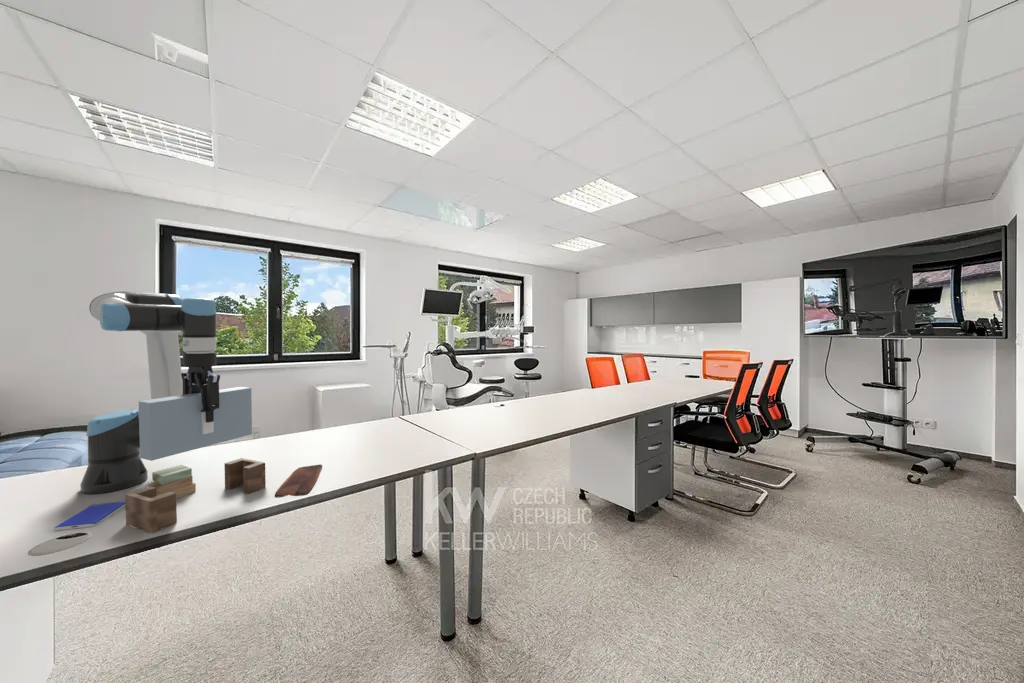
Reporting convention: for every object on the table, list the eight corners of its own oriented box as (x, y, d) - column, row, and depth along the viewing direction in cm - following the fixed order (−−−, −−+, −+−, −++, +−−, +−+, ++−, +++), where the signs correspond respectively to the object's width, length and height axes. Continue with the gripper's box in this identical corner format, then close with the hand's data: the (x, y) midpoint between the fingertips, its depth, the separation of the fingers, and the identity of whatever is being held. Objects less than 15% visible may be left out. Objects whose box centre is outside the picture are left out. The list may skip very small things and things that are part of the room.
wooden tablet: (297, 464, 141) (326, 458, 144) (297, 469, 142) (327, 464, 144) (271, 495, 116) (307, 488, 118) (272, 502, 116) (308, 495, 119)
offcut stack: (145, 499, 114) (144, 474, 114) (181, 487, 123) (180, 464, 122) (160, 503, 111) (160, 478, 111) (196, 491, 120) (195, 467, 120)
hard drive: (90, 504, 108) (53, 526, 97) (127, 500, 111) (94, 522, 99) (91, 509, 108) (53, 532, 97) (127, 506, 111) (94, 528, 99)
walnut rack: (126, 524, 100) (125, 494, 99) (242, 481, 128) (241, 458, 127) (151, 533, 96) (150, 501, 95) (265, 487, 124) (265, 462, 123)
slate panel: (140, 458, 100) (138, 401, 99) (241, 432, 124) (240, 386, 123) (151, 460, 98) (149, 403, 97) (251, 434, 122) (251, 387, 122)
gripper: (165, 351, 110) (167, 431, 111) (205, 354, 103) (207, 439, 104) (194, 350, 117) (196, 425, 118) (234, 352, 110) (235, 432, 111)
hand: (201, 431), depth 111 cm, fingers closed on slate panel, 5 cm apart
